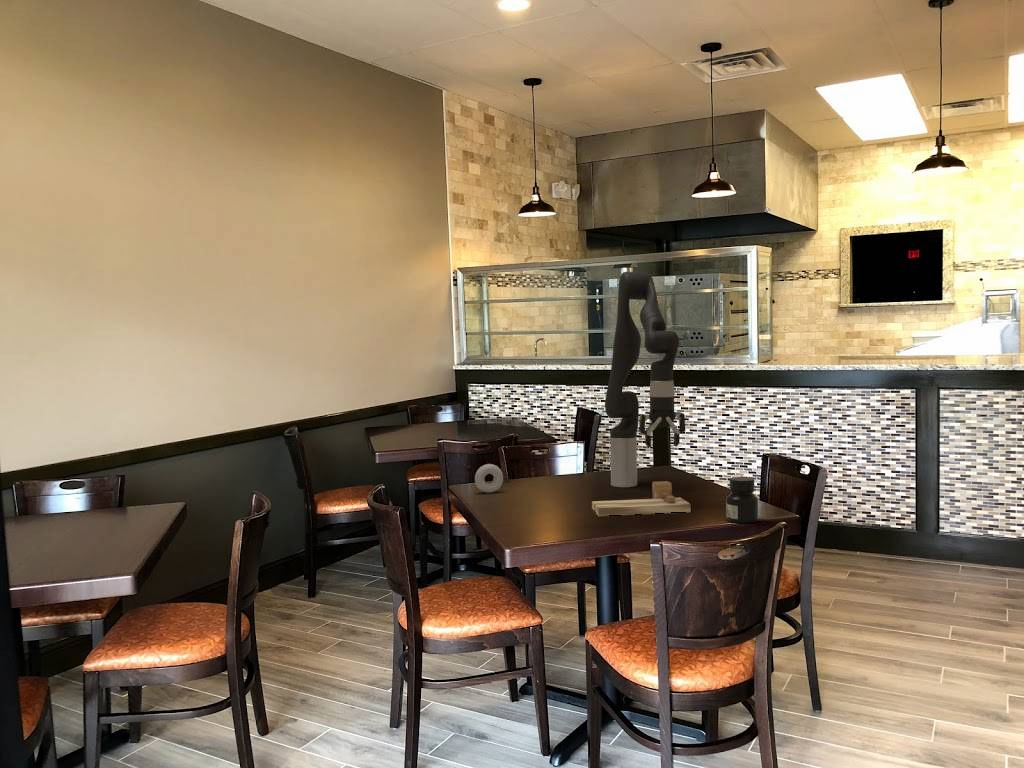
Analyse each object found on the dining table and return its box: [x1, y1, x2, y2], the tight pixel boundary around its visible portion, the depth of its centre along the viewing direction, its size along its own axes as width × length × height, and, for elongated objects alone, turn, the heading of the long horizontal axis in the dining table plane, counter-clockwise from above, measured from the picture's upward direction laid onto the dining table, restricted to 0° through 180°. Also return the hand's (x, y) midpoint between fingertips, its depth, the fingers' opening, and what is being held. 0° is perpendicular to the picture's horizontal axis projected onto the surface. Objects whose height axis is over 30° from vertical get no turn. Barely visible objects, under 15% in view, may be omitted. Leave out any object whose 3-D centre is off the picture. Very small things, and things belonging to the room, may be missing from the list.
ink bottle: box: [725, 476, 759, 524], centre depth 245 cm, size 10×9×12 cm
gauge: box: [652, 480, 676, 503], centre depth 265 cm, size 14×5×7 cm, turn 6°
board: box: [591, 497, 692, 517], centre depth 260 cm, size 10×28×2 cm, turn 96°
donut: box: [474, 463, 504, 494], centre depth 294 cm, size 10×4×10 cm, turn 105°
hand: (662, 446), depth 268 cm, fingers open, 8 cm apart
